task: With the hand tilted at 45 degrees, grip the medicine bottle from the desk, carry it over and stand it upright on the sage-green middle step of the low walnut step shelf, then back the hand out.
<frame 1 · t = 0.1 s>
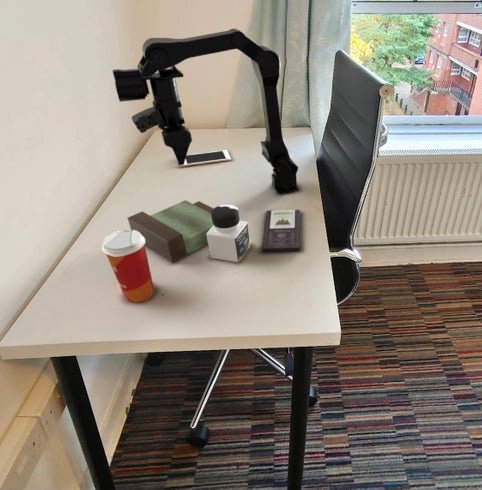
hand: (178, 157, 114), 15 cm above the table, tool pointing down, fingers open, 9 cm apart
medicine bottle: (231, 252, 106), on the table
step shelf: (187, 232, 112), on the table
cell phone: (204, 159, 148), on the table
paper cup: (140, 294, 93), on the table
chocolate bar: (282, 231, 114), on the table
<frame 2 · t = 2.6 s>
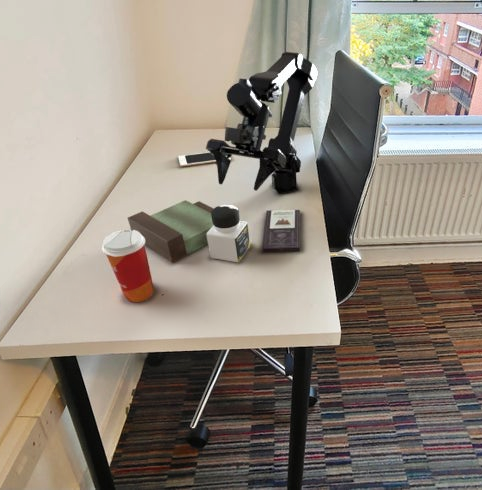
hand: (237, 187, 105), 13 cm above the table, tool tilted 45°, fingers open, 9 cm apart
nothing on the table moved.
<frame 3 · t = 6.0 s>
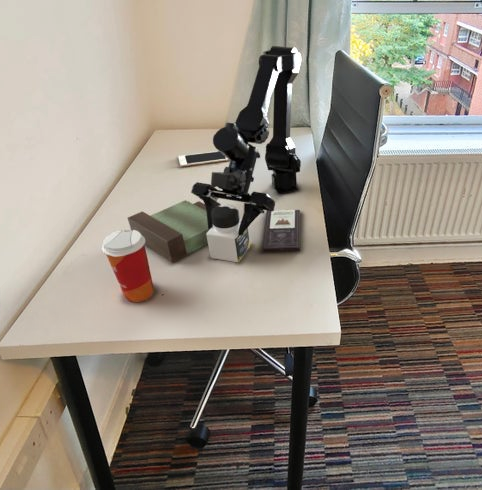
hand: (224, 232, 101), 7 cm above the table, tool tilted 45°, fingers closed on medicine bottle, 7 cm apart
medicine bottle: (231, 252, 106), on the table, touching gripper
everything else where it was.
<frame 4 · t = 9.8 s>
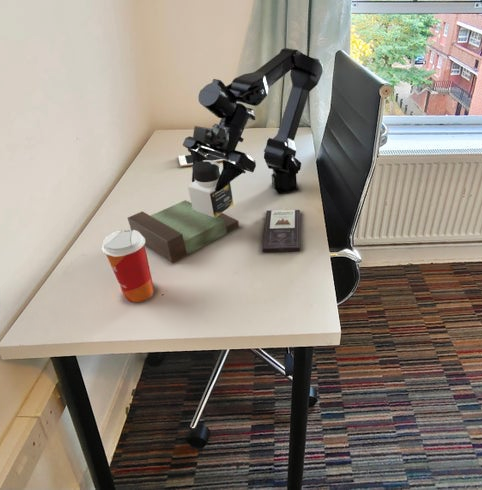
hand: (204, 186, 104), 13 cm above the table, tool tilted 45°, fingers closed on medicine bottle, 7 cm apart
medicine bottle: (213, 208, 109), point 7 cm above the table, touching gripper
everything else where it was.
when the fingers open (11 cm above the table, at t = 13.6 s): medicine bottle stays where it is, resting on step shelf.
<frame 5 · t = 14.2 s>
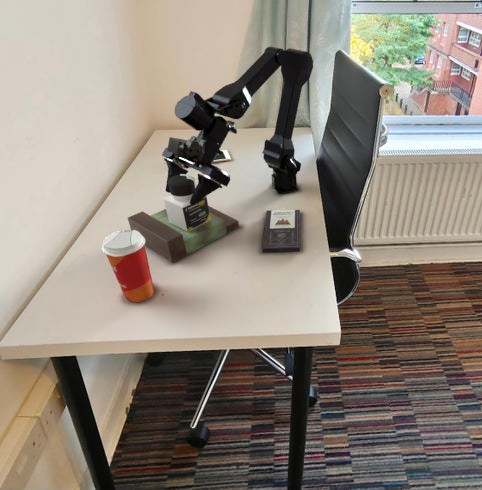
hand: (179, 198, 104), 11 cm above the table, tool tilted 45°, fingers open, 9 cm apart
medicine bottle: (190, 222, 109), point 4 cm above the table, touching step shelf
everything else where it was.
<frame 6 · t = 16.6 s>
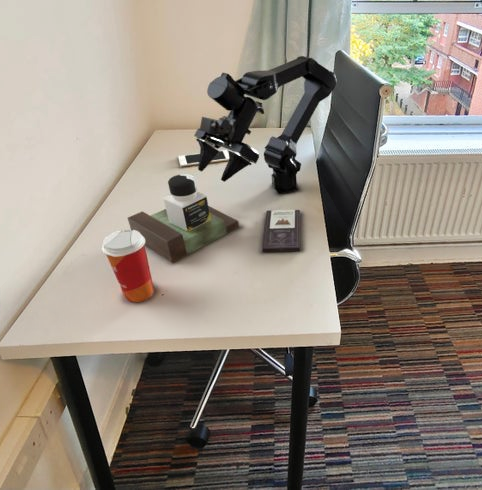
hand: (211, 175, 109), 13 cm above the table, tool tilted 45°, fingers open, 9 cm apart
nothing on the table moved.
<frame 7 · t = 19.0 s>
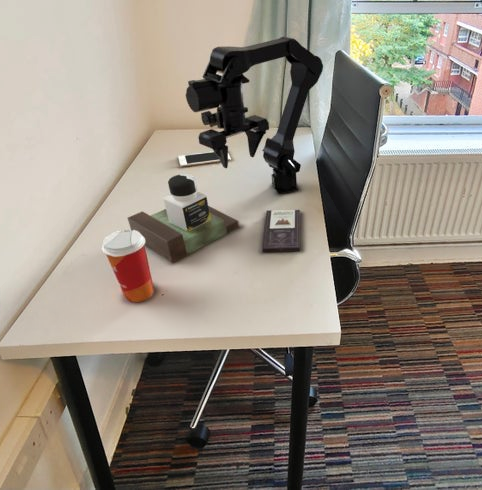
hand: (239, 162, 117), 13 cm above the table, tool pointing down, fingers open, 9 cm apart
nothing on the table moved.
at the end: medicine bottle 0.1 cm from the target spot on the step shelf, point 3.8 cm above the step shelf's base; medicine bottle tilted 0°; the gripper is holding nothing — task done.
